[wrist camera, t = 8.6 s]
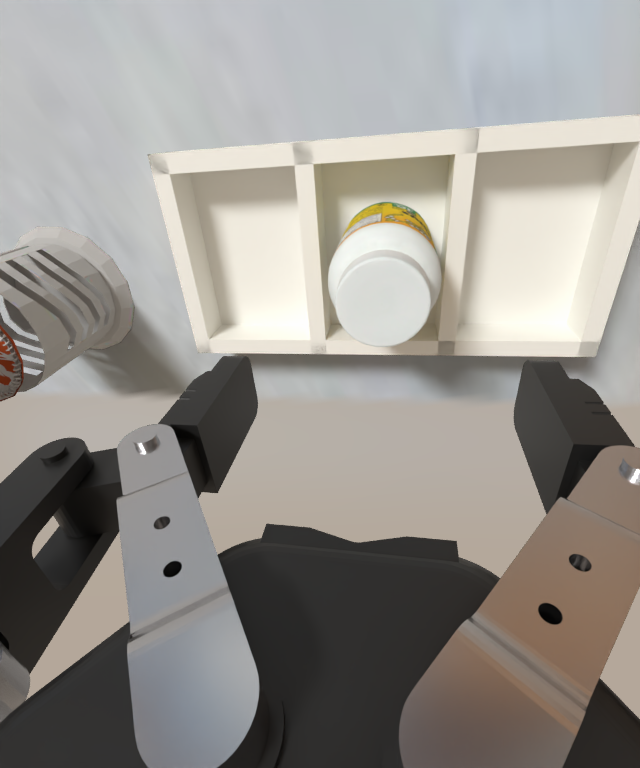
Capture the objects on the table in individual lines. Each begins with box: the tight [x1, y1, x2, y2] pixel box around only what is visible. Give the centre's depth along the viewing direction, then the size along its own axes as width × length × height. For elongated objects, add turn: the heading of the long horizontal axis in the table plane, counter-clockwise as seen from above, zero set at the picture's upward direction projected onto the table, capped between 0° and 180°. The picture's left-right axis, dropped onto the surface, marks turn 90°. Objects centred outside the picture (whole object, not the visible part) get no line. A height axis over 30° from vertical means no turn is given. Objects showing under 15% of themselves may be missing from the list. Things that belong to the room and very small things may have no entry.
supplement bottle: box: [328, 201, 442, 347], centre depth 21 cm, size 5×5×10 cm
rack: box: [148, 114, 640, 357], centre depth 24 cm, size 25×12×4 cm, turn 94°
